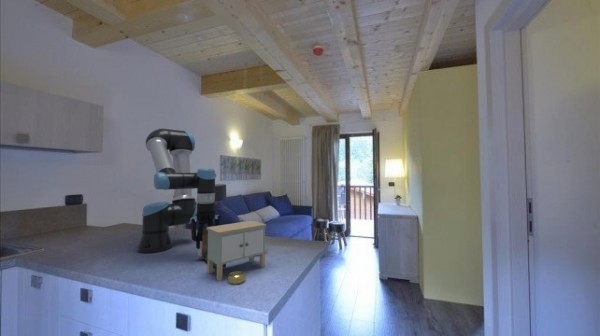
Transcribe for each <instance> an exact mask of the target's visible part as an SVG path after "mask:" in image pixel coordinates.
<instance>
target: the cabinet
mask: <svg viewBox="0 0 600 336" xmlns="http://www.w3.org/2000/svg"><path fill="white" fill-rule="evenodd" d="M266 227H267V224H266V223H262V222H260V221H255V220H248V221H247V220H246V221H241V222H235V223H234V222H233V223H227V224H226V223H225V224H221V225H220V224H219V226H215V225H213V227H208V226H207V227H206V229H207V230H208V262H207V271H206V272H207V273H208V274H212V273H213V272H214V266H213V262H214V263H215V264H217V268H216V280H217V281H218V282H219V281H223V268H222V267H223V264H226V265H227V264H229V263H230V264H231V263H233V262H237V261H241V260H244V259H248V261H249V262H250V263H252V262H255V257H257V256H259V268H264V267H266V266H265V265H266V263H265V262H266V260H265V259H266Z"/></svg>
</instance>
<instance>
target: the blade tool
mask: <svg viewBox="0 0 600 336" xmlns="http://www.w3.org/2000/svg"><path fill="white" fill-rule="evenodd" d="M201 241H202V256H201V257H200V256H199V255H198V258H200V259H202V260H204V261H206V262H207V263H208V230H207V228H206V229H205V228H203V231H202V236H201ZM213 267H215V268H216V269H217V264H215V263H214V262H213ZM225 268H227V263H226V264H223V267H222V269H225Z"/></svg>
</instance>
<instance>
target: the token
mask: <svg viewBox="0 0 600 336" xmlns="http://www.w3.org/2000/svg"><path fill="white" fill-rule="evenodd" d="M245 282H246V272H244V271H243V270H242V271H241V270H235V271H232V272H229V273H228V277H227V283H228V284H229V285H231V286H237V285H242V284H244V283H245Z"/></svg>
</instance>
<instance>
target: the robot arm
mask: <svg viewBox="0 0 600 336" xmlns="http://www.w3.org/2000/svg"><path fill="white" fill-rule="evenodd" d="M195 145H196V139H195V137H194V135H193V133H192V132H190V131H187V130H178V129H169V128H157V129H155V130H153V131H152V132H151V131H150V133H149V134H148V135H147V137H146V139H145V146H146V150H147V151H149V153H150V155H151V158H152V162H153V165H154V167H155V171H156V173H155V174H153V175H154V176H153V186H154V188H155V189H156V190H164V191H168V190H174V198H173V199H172V200H171V203H170V202H169V201H167V200H166V201H157V202H156V201H155V202H152V203H148V204H146V205H144V206H143V208H142V214H141V216H142V222H141V223H142V226H141V227H142V230H141V231H142V232H141V233H142V234H141V237H140V240H139V243H138V246H137V252H138V253H141V254H153V253H160V252H163V251H168V250H170V249H171V248H173V241H172V238H171V236H170V235H171V234H170V232H169V228H170V227H172V226H173V227H174V226H181V225H190V224H191V225H190V227H191V228H190V229H191V230H190V231H191V234H190V235H191V240H192V241H194V242H195V248H196V249H197V255H198V257H199V256H200V257H201V256H202V241H201V236H202V231H203V230H204V226H205V224H207V227H213V226H219V225H220V222H221V218H222V216H221V215H220V214H216V211H215V210H216V208H215V207H216V204H215V199H216V198H215V197H216V192H215V191H216V170H215V169H214V168H197V172H191V165H190V155H192V153H193V151H194V150H195V147H196V146H195ZM168 150H169V151H168ZM170 155H171V156H170ZM171 157H172V158H171ZM192 189H197V191H196V198H195V197H194V196H193V193H192V191H193V190H192ZM213 220H214V225H213ZM197 221H198V228H197V224H196V223H197ZM200 257H199V258H200Z"/></svg>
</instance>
